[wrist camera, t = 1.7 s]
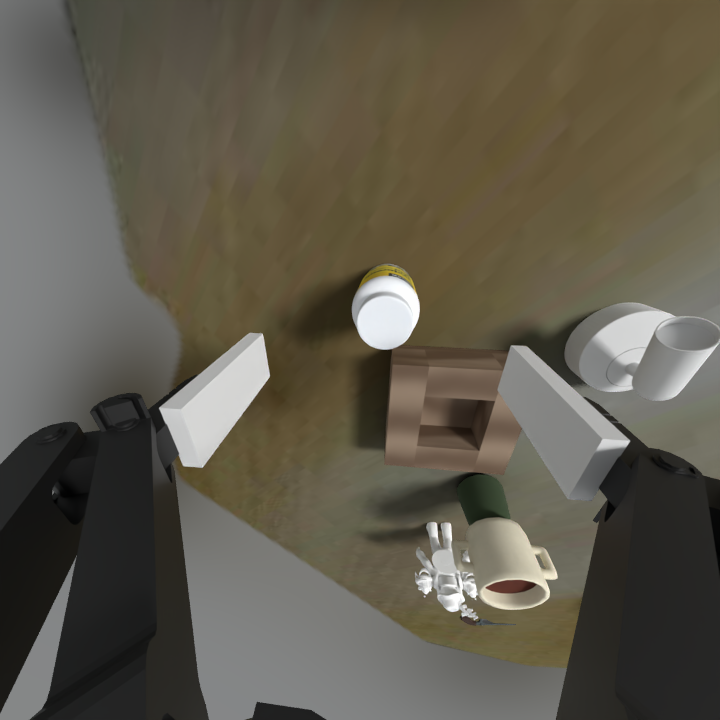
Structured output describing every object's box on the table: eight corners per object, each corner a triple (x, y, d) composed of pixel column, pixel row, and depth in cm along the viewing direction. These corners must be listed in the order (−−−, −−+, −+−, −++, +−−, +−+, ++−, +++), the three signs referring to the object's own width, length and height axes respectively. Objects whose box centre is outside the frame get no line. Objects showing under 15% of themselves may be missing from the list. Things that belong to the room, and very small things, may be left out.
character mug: (437, 498, 42) (455, 605, 30) (441, 466, 38) (463, 573, 27) (511, 502, 40) (558, 615, 29) (522, 470, 37) (581, 583, 26)
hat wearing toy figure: (467, 520, 44) (492, 618, 33) (464, 534, 45) (487, 631, 35) (411, 517, 45) (418, 611, 34) (410, 531, 46) (417, 623, 36)
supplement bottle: (418, 265, 26) (432, 290, 17) (408, 318, 28) (416, 364, 20) (362, 259, 26) (348, 281, 17) (357, 313, 29) (344, 355, 20)
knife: (460, 621, 62) (461, 625, 61) (460, 613, 60) (461, 617, 59) (526, 622, 60) (527, 626, 59) (527, 613, 58) (529, 618, 57)
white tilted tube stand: (800, 303, 16) (782, 422, 20) (657, 272, 24) (664, 360, 28) (628, 360, 18) (641, 455, 22) (553, 314, 27) (572, 389, 31)
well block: (392, 344, 30) (392, 364, 26) (522, 351, 29) (544, 373, 25) (384, 437, 37) (384, 464, 33) (490, 445, 36) (503, 474, 32)
